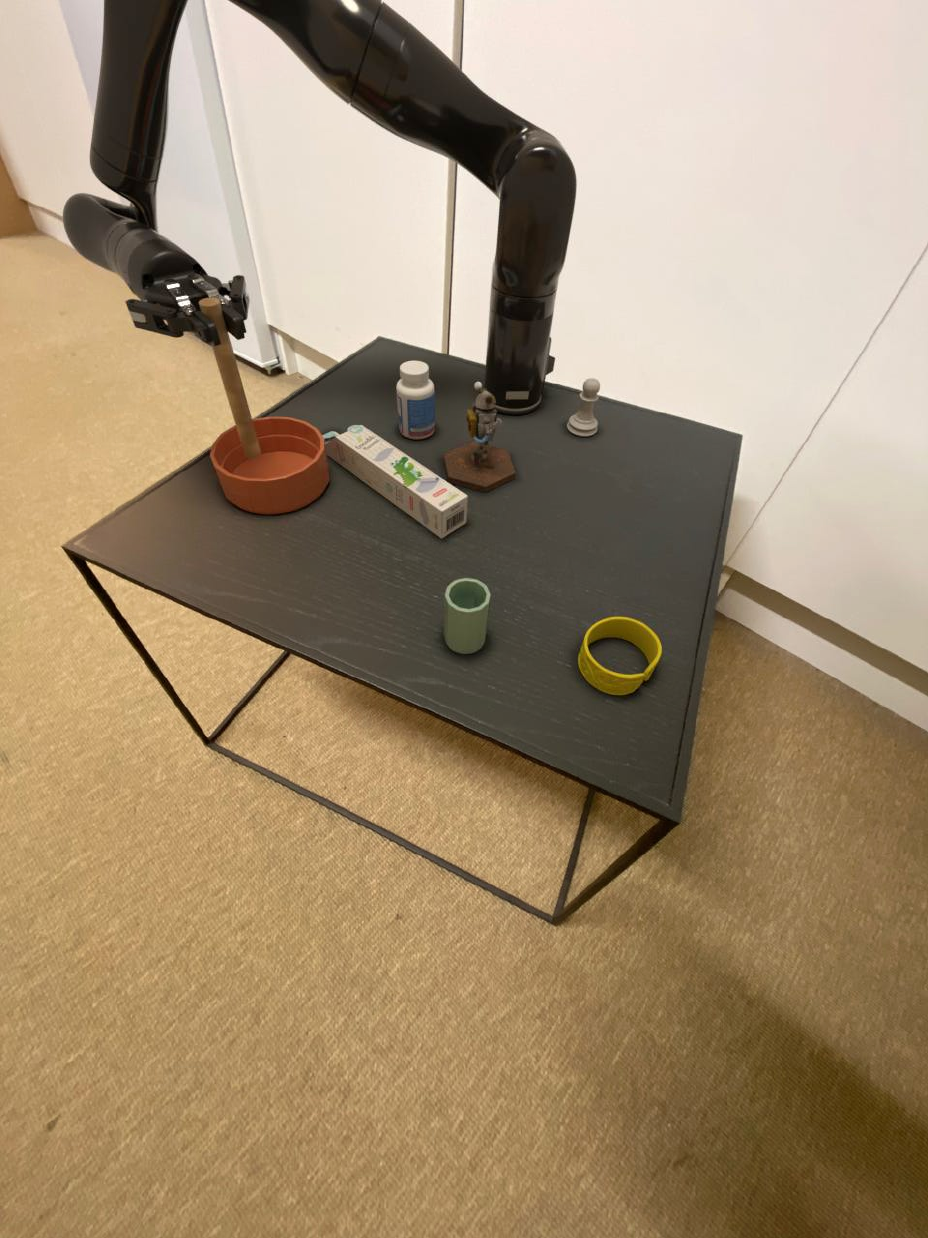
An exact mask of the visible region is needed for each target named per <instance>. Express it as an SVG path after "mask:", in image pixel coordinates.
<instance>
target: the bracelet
mask: <svg viewBox="0 0 928 1238" xmlns="http://www.w3.org/2000/svg"><path fill="white" fill-rule="evenodd" d="M606 638H608V639H609V638H615V639H621V640H624V641H627V642H630V643H631V644H633V645H634V646H635V647H637V648H638V649H639V650H640V651H641V652H642V653H643V654H644V656H645V658H646V660H647V663H648V666H647V667H646V669H645V670H643V671H644V672H642V673H635V674H623V673H617V672H614V671H611V670H610V669H607V668H605V667H604V666H602V665H601V664H600V663H598V662H597V660H596V659H594V657H593V656H592V654H591V653H590V650H589V646H590V645H591V644H593V643H594V642H595V641H598V640H601V639H606ZM662 647H663V646H662V643H661V641H660V638H659V637H658V635H657V634H656V633H655V631H653V630H652V629H651V628H650V627H649V626H648V625H647V624H645V623H643V622H642V621H639V620H637V619H634V618H631V617H629V616H628V617H627V616H610V617H606V618H604V619H601V620H599V621H597V622H595V623H594V624H593V625H591V626H590V627H589V628H588V629H587V631H586V633H585V635H584V638H583V640H582V643H581V646H580V650H579V653H578V658H577V660H578V669H579V671H580V673H581V675H582V676H583V677H584V679H585V680H586V681H587V682H588V684H590V685H591V686H593V687H594V688H595V689H596V690H598V691H600V692H603V693H604V694H608V695H613V696H625V695H629V694H632V693H634V692H635V691H636V690H637V689H638V688H639V687H640V686H641V685H642V683H643V682H644V681H646V682H647V681H648V680H649V679H650V678H651V676H652V674H653V672H654V670H655V668H656V666H657V665H658V663H659V661H660V658H661V656H662V654H663V653H662V652H663V648H662Z"/></svg>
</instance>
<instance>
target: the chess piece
mask: <svg viewBox="0 0 928 1238" xmlns="http://www.w3.org/2000/svg"><path fill="white" fill-rule="evenodd" d="M600 390H601V383H600V381H599V380H598V379H596V378H593V377H590V378H587V379H585V381H583V383H582V391H581V392H580V393H579V397H580V399H581V402H580V408H579V410H578V411H577V412H576V413H575V414H573V415H571V416H570V417H569V418H568V422H567V424H566V428H567V430H568V431H569V432H570V433H571V434H572V435H573V436H577V437H582V438H587V437H591V436H594V435H595V434H596V433H597V432H598V425H599V422H598V420H597V418H596V417H595V416H594V413H593V409H594V407H595V403H596V402H597V401H598V400H599V398H600V396H599V395H598V393H599V392H600Z"/></svg>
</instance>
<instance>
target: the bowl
mask: <svg viewBox="0 0 928 1238" xmlns="http://www.w3.org/2000/svg"><path fill="white" fill-rule="evenodd" d="M252 421H253V425H254V428H255V432H256V436H257V439H258V443H259V447H260V450H261V455H260V456H258V457H256V458H247V457H246V456H245V454H244V451H243V448H242V444H241V441H240V438H239V434H238V431H237V428H236V425H233V426H231V427H230V428H228V429H227V430H225V431H223V432H222V433H220V434H219V436H217V438H216V439H215V441H213V443H212V444H211V448H210V453H209V454H210V455H209V457H210V460H211V463H212V466H213V469H214V472H215V474H216V477H217V480H218V482H219V485H220V487H221V490H222V491H223V495H224V496H225V498H226V499H227V500H228V501H229V502H231V503H232V504H233V505H235V506H236V507H238V508H239V509H242V510H244V511H246V512H249V513H252V514H253V513H254V514H260V515H278V514H286V513H289V512H293V511H297V510H299V509H302V508H304V507H306V506H308V505H310V504H311V503H313V502H315V501H316V500H317V499H318V498H319V497H320V496H321V495H322V494H323V493H324V491H325V490H326V487H327V486H328V484H329V482H330V479H331V478H330V465H329V460H328V459H329V458H328V455H327V453H326V447H325V443H326V441H325V439H324V438H323V436H322V435H323V434H322V433H321V432H320V430H319V429H318V428H317V427H316V426H314V425H313V424H311V423H309V422H307V421H305V420H302V419H298V418H294V417H290V416H264V417H257V418H252Z"/></svg>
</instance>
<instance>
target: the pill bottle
mask: <svg viewBox="0 0 928 1238" xmlns="http://www.w3.org/2000/svg"><path fill="white" fill-rule="evenodd" d="M399 376H400V379H399V380H398V381H397V383H396V404H397V405H396V406H397V418H398V429H399V432H400V434H401V435H402V436H403V437H405V438H407V439H410V440H423V439H427V438H429V437H431V436H432V435H433V434H434V432H435V430H436V414H435V413H436V411H435V410H436V409H435V408H436V406H435V385H434V382H433V381H432V380H431V379H430V368H429V364H427V363H426V362H424V361H421V360H408V361H405V362H403V363H402V364H400V365H399Z"/></svg>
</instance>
